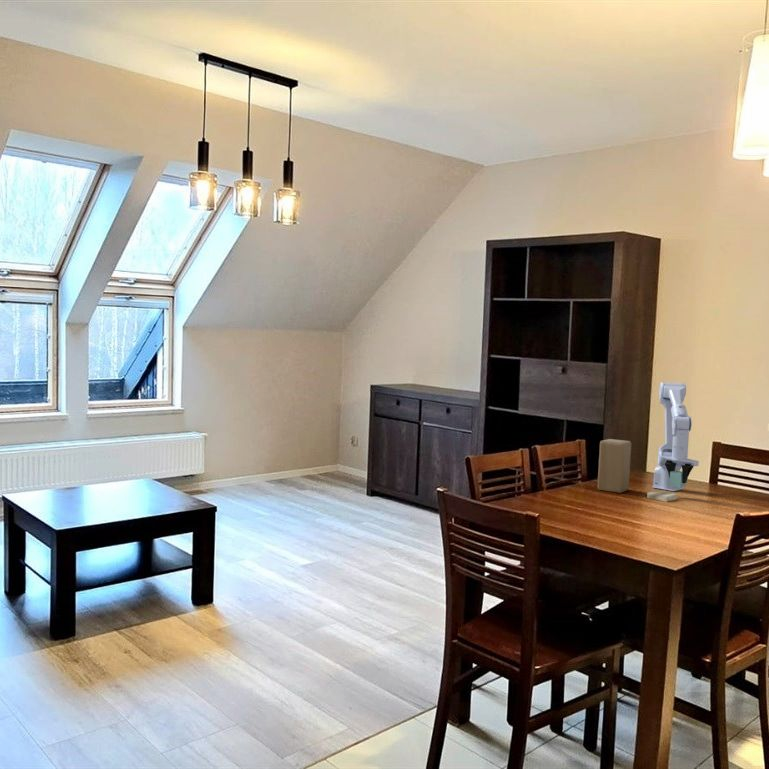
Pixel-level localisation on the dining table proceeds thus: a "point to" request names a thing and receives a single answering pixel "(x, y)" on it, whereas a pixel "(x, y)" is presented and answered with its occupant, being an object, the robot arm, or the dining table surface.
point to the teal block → (676, 479)
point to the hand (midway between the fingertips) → (677, 481)
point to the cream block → (662, 496)
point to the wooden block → (614, 465)
